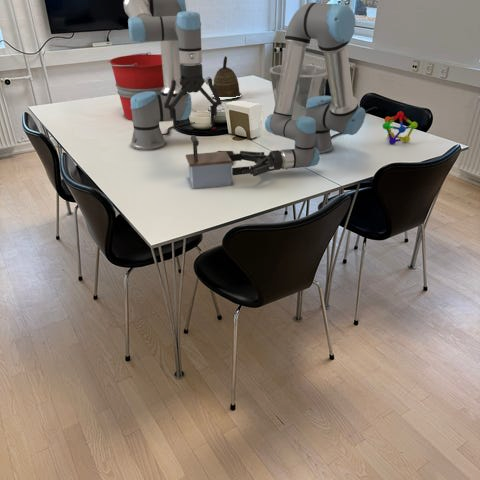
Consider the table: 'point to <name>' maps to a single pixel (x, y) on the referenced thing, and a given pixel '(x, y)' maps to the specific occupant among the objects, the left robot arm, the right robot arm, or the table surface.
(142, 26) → the left robot arm
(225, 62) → the bell
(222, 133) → the table surface
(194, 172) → the chest
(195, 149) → the lid
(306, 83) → the bucket
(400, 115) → the educational toy
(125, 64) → the bucket
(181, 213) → the table surface
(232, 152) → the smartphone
